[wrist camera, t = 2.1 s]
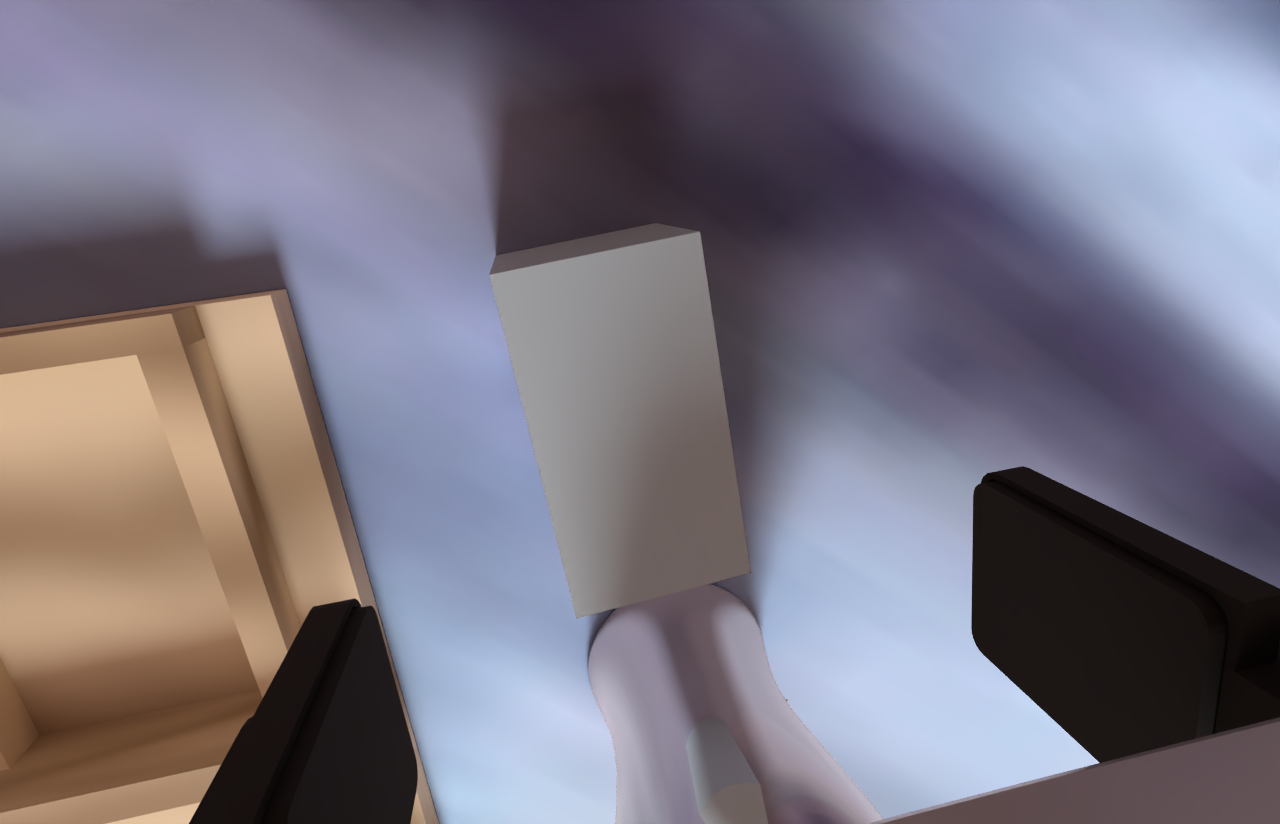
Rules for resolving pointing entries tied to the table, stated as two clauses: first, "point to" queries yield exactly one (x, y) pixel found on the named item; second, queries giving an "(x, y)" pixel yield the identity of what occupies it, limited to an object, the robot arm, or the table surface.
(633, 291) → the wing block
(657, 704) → the beer glass
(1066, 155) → the table surface
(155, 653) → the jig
